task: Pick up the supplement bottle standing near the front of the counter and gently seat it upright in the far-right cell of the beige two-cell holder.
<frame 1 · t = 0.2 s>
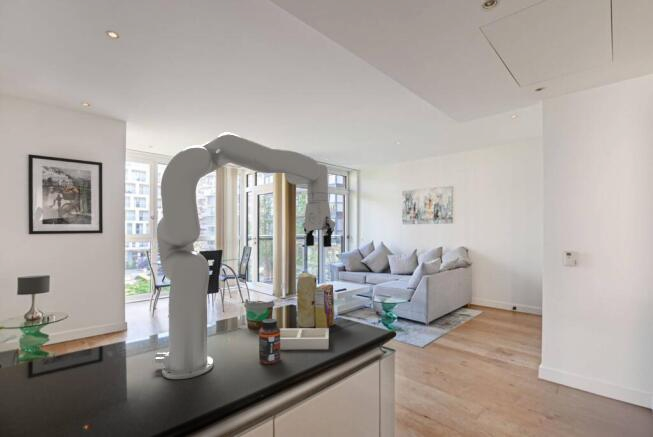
hand: (318, 246, 113), 31 cm above the counter, tool pointing down, fingers open, 9 cm apart
candy box: (325, 327, 118), on the counter
food container: (256, 328, 118), on the counter
food model: (306, 326, 119), on the counter
supplement bottle: (269, 361, 89), on the counter
holder: (299, 343, 101), on the counter
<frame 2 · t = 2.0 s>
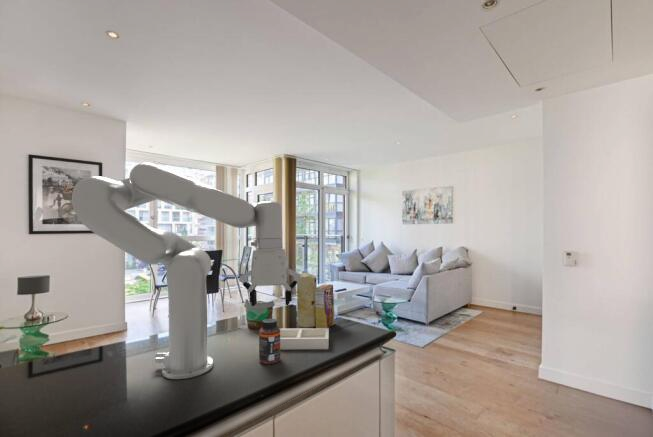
hand: (270, 304, 89), 16 cm above the counter, tool pointing down, fingers open, 9 cm apart
nothing on the counter moved.
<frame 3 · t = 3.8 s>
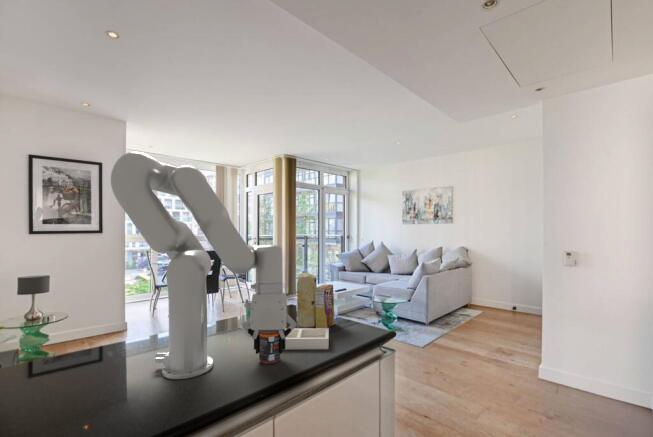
hand: (269, 351, 89), 3 cm above the counter, tool pointing down, fingers closed on supplement bottle, 6 cm apart
supplement bottle: (269, 361, 89), on the counter, touching gripper
everything else where it was.
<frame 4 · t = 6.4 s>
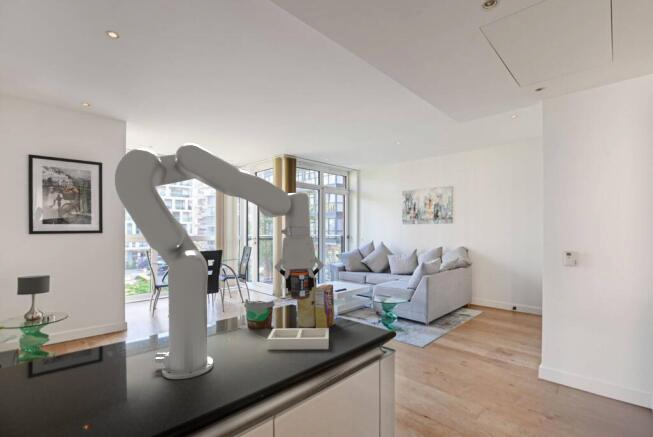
hand: (300, 289, 97), 18 cm above the counter, tool pointing down, fingers closed on supplement bottle, 6 cm apart
supplement bottle: (300, 298, 97), point 15 cm above the counter, touching gripper
everything else where it was.
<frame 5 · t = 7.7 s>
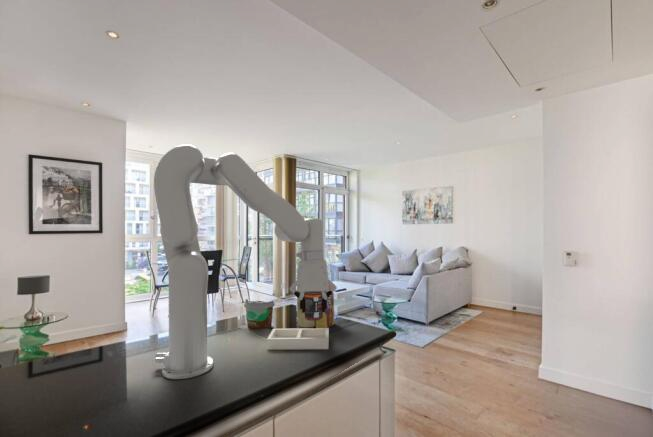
hand: (313, 310, 102), 10 cm above the counter, tool pointing down, fingers closed on supplement bottle, 6 cm apart
supplement bottle: (313, 319, 102), point 8 cm above the counter, touching gripper
everything else where it was.
when the fingers open (4 cm above the counter, at t = 9.1 s): supplement bottle stays where it is, resting on holder.
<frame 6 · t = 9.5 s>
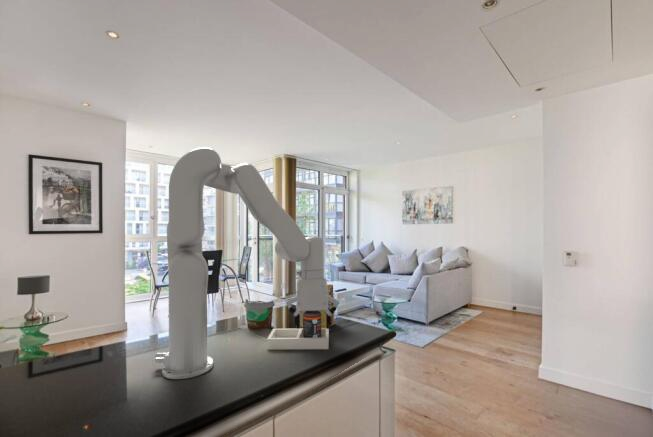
hand: (313, 327, 101), 5 cm above the counter, tool pointing down, fingers open, 9 cm apart
supplement bottle: (312, 341, 101), point 1 cm above the counter, touching holder
everything else where it was.
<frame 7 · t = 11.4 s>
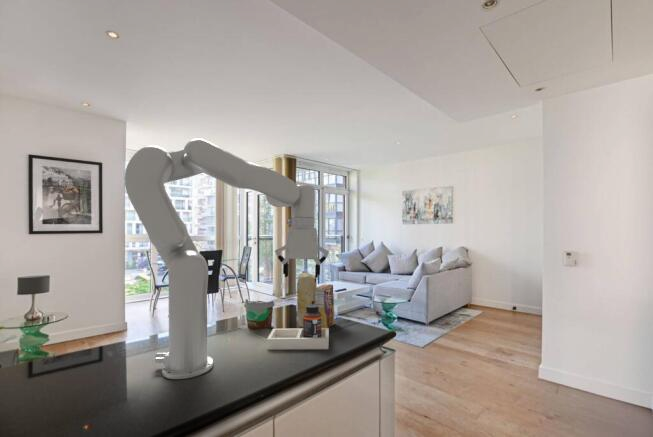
hand: (301, 276, 100), 22 cm above the counter, tool pointing down, fingers open, 9 cm apart
nothing on the counter moved.
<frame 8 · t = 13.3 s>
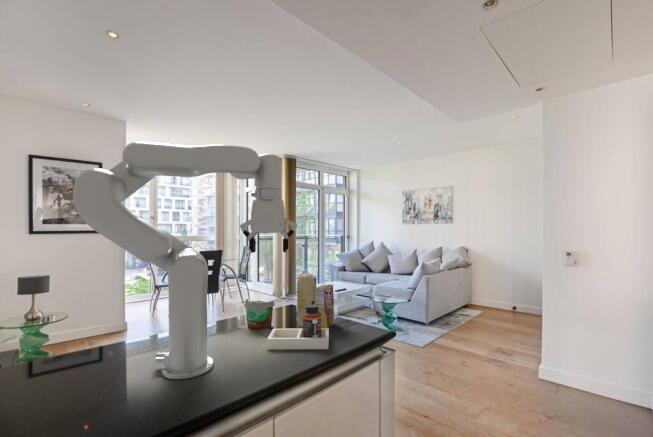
hand: (269, 252, 94), 30 cm above the counter, tool pointing down, fingers open, 9 cm apart
nothing on the counter moved.
at the end: supplement bottle 0.2 cm from the target spot on the holder, point 0.6 cm above the holder's base; supplement bottle tilted 0°; the gripper is holding nothing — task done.
